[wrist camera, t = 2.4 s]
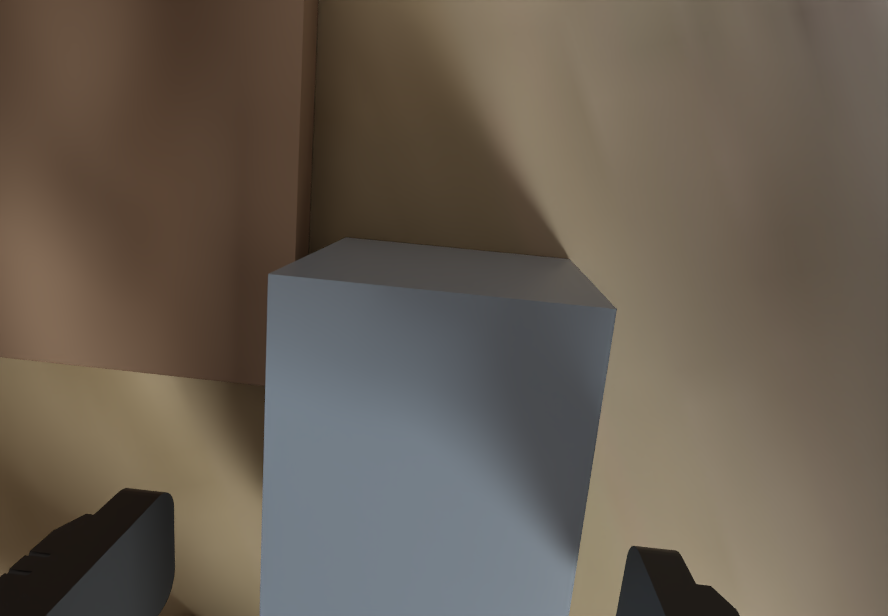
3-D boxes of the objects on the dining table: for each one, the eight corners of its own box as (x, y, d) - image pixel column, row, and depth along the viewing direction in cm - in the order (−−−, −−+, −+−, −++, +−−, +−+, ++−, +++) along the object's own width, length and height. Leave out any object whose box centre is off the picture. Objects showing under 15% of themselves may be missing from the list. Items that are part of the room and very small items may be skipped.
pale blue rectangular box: (569, 259, 16) (616, 309, 10) (525, 587, 18) (542, 781, 13) (345, 237, 16) (267, 273, 11) (328, 563, 19) (256, 742, 13)
